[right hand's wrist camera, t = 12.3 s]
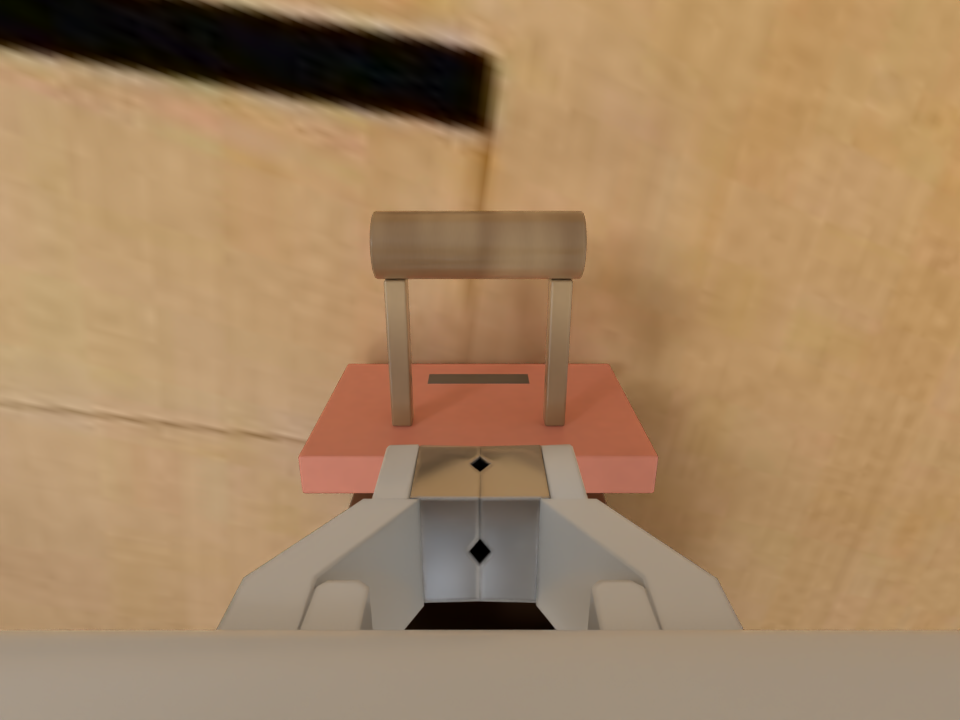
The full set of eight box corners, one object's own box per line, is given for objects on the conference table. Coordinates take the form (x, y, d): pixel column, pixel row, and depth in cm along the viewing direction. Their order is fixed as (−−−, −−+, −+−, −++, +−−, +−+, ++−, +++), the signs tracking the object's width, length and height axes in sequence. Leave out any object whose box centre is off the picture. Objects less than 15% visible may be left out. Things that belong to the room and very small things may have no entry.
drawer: (333, 191, 20) (267, 223, 14) (623, 191, 20) (688, 223, 14) (376, 707, 29) (348, 869, 23) (580, 707, 29) (608, 869, 23)
